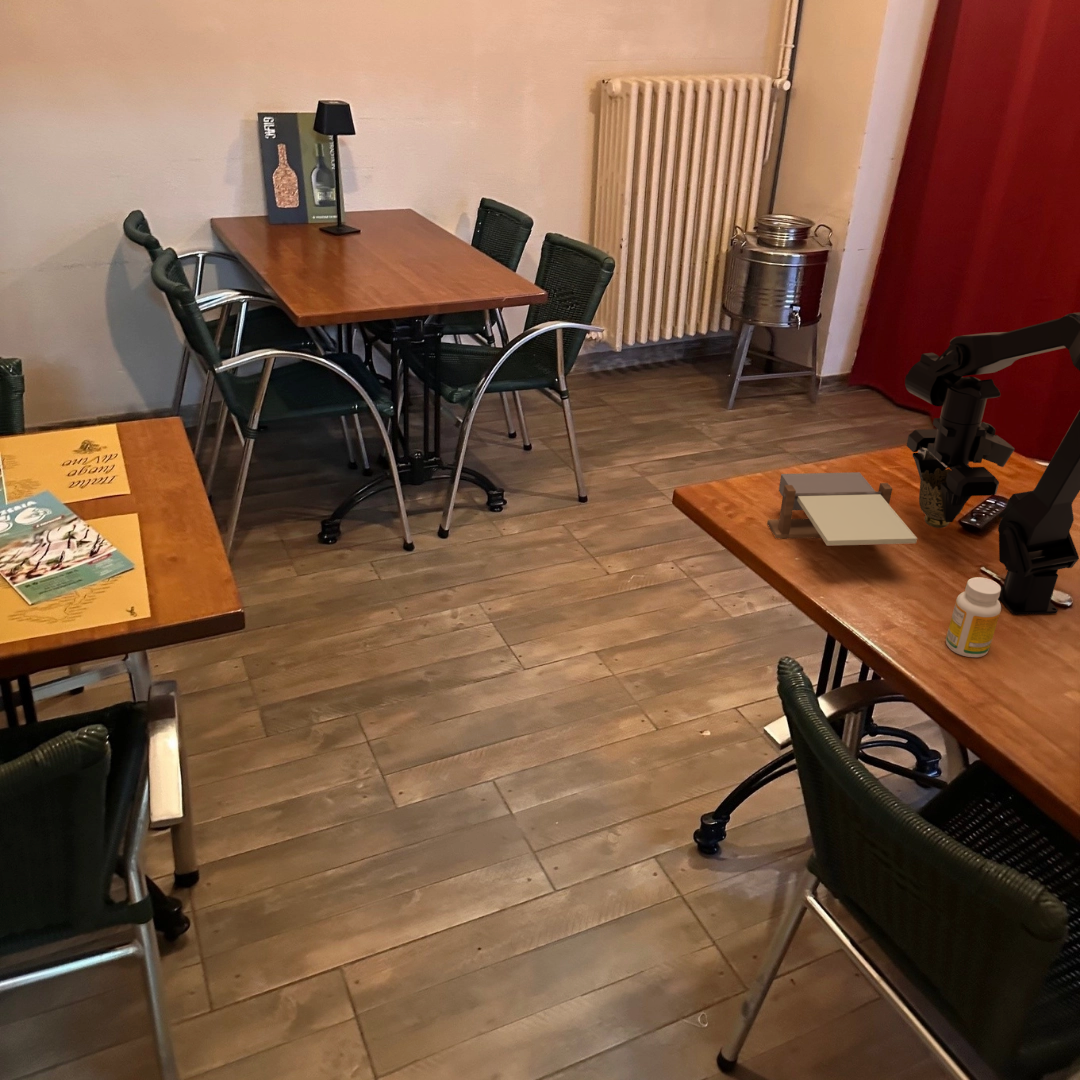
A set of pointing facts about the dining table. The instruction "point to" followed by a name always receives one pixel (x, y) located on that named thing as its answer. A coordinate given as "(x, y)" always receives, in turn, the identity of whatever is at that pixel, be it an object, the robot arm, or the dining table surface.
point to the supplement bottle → (974, 618)
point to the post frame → (804, 527)
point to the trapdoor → (847, 510)
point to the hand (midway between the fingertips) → (939, 511)
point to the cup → (933, 497)
